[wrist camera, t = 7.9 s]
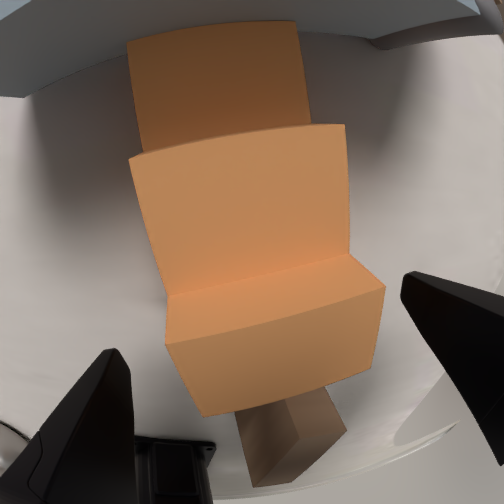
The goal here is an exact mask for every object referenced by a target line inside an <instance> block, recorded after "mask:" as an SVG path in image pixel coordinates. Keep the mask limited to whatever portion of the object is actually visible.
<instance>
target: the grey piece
mask: <svg viewBox="0 0 504 504" xmlns="http://www.w3.org/2000/svg"><path fill="white" fill-rule="evenodd" d="M247 21H295V22H296V27H297V31H301V32H320V33H332V34H341V35H350V36H357V37H364V38H368V39H369V41H370V42H371V43H372V44H373V45H375V46H376V47H378V48H380V49H383V50H389V49H393V48H398V47H402V46H407V45H412V44H417V43H422V42H428V41H434V40H440V39H447V38H455V37H464V36H476V35H496V34H502V33H503V21H502V17H501V15H500V12H499V10H498V8H497V6H496V4H495V2H494V0H0V96H3V97H17V98H25V97H26V96H28V95H30V94H32V93H34V92H35V91H37V90H39V89H41V88H43V87H45V86H47V85H49V84H51V83H53V82H55V81H57V80H59V79H62V78H64V77H66V76H68V75H71V74H73V73H75V72H78V71H80V70H83V69H85V68H88V67H90V66H93V65H95V64H98V63H101V62H104V61H106V60H109V59H112V58H115V57H118V56H122V55H125V54H127V44H126V42H129V41H132V40H136V39H140V38H143V37H147V36H151V35H155V34H160V33H164V32H169V31H174V30H179V29H185V28H191V27H197V26H204V25H212V24H221V23H232V22H247Z"/></svg>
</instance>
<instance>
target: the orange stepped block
mask: <svg viewBox="0 0 504 504" xmlns="http://www.w3.org/2000/svg"><path fill="white" fill-rule="evenodd" d="M126 44H127V54H128V63H129V71H130V78H131V85H132V92H133V99H134V105H135V111H136V117H137V122H138V128H139V133H140V138H141V144H142V149H143V152H142V153H140V154H138V155H136V156H134V157H132V158H130V159H129V164H130V168H131V173H132V177H133V181H134V185H135V189H136V193H137V197H138V201H139V205H140V209H141V212H142V216H143V220H144V223H145V227H146V230H147V234H148V237H149V240H150V244H151V247H152V250H153V254H154V257H155V260H156V263H157V266H158V269H159V272H160V275H161V278H162V281H163V284H164V287H165V290H166V293H167V295H168V301H167V315H166V334H165V346H166V348H167V350H168V352H169V354H170V356H171V358H172V360H173V362H174V364H175V366H176V368H177V370H178V372H179V374H180V376H181V378H182V380H183V382H184V384H185V386H186V388H187V390H188V392H189V393H190V395H191V397H192V399H193V401H194V403H195V404H196V406H197V408H198V410H199V412H200V413H201V415H202V417H209V416H214V415H220V414H225V413H230V412H234V411H239V410H243V409H248V408H252V407H256V406H260V405H264V404H268V403H272V402H275V401H279V400H282V399H286V398H289V397H293V396H296V395H299V394H302V393H305V392H309V391H312V390H315V389H318V388H320V387H323V386H326V385H329V384H332V383H335V382H337V381H340V380H343V379H345V378H348V377H350V376H353V375H355V374H358V373H360V372H363V371H365V370H367V369H370V368H371V363H372V359H373V355H374V350H375V346H376V341H377V336H378V331H379V326H380V320H381V314H382V308H383V302H384V295H385V288H386V286H385V285H384V284H383V283H382V282H381V281H380V280H379V279H377V278H376V277H375V276H374V275H373V274H372V273H371V272H370V271H369V270H367V269H366V268H365V267H364V266H363V265H362V264H361V263H360V262H358V261H357V260H356V259H355V258H354V257H353V256H352V255H350V254H349V239H350V218H349V180H348V161H347V146H346V134H345V124H311V116H310V108H309V100H308V93H307V86H306V79H305V73H304V66H303V60H302V54H301V49H300V43H299V38H298V32H297V27H296V22H295V21H247V22H232V23H221V24H212V25H204V26H197V27H191V28H185V29H179V30H174V31H169V32H164V33H160V34H155V35H151V36H147V37H143V38H140V39H136V40H132V41H129V42H126Z"/></svg>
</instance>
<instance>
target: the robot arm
mask: <svg viewBox="0 0 504 504" xmlns="http://www.w3.org/2000/svg"><path fill="white" fill-rule="evenodd" d="M400 298H401V301H402V303H403V305H404V307H405V308H406V310H407V311H408V313H409V315H410V317H411V318H412V320H413V322H414V323H415V325H416V327H417V329H418V330H419V332H420V334H421V335H422V337H423V338H424V340H425V341H426V343H427V344H428V345H429V347H430V348H431V350H432V351H433V353H434V354H435V356H436V357H437V359H438V360H439V361H440V363H441V364H442V366H443V367H444V369H445V370H446V372H447V374H448V375H449V377H450V378H451V380H452V381H453V383H454V384H455V386H456V388H457V389H458V391H459V392H460V394H461V396H462V397H463V399H464V401H465V402H466V404H467V406H468V407H469V409H470V411H471V412H472V414H473V416H474V418H475V419H476V421H477V423H478V424H479V427H480V429H481V430H482V432H483V434H484V436H485V438H486V440H487V442H488V444H489V446H490V448H491V449H492V452H493V454H494V456H495V458H496V460H497V462H498V464H499V465H500V466H502V465H503V464H504V297H503V296H501V295H497V294H494V293H491V292H487V291H484V290H481V289H477V288H474V287H470V286H467V285H463V284H460V283H456V282H453V281H449V280H446V279H442V278H439V277H435V276H432V275H428V274H424V273H421V272H417V271H412V272H409V273H407V274H405V275H404V277H403V281H402V287H401V293H400ZM215 451H216V444H215V443H213V442H190V441H174V440H163V439H153V438H145V437H137V436H134V409H133V399H132V387H131V373H130V369H129V367H128V365H127V363H126V362H125V360H124V359H123V357H122V355H121V354H120V352H119V351H118V350H117V349H116V348H112V349H106V350H103V351H102V352H101V354H100V355H99V356H98V357H97V358H96V360H95V361H94V362H93V363H92V364H91V365H90V367H89V368H88V369H87V370H86V371H85V373H84V374H83V375H82V376H81V377H80V379H79V380H78V381H77V382H76V383H75V385H74V386H73V387H72V388H71V390H70V391H69V392H68V393H67V394H66V396H65V397H64V398H63V399H62V401H61V402H60V403H59V404H58V406H57V407H56V408H55V409H54V411H53V412H52V413H51V415H50V416H49V417H48V418H47V420H46V421H45V422H44V424H43V425H42V426H41V427H40V429H39V431H37V433H36V434H35V435H34V437H33V438H32V439H31V441H30V442H29V443H28V444H27V446H26V447H25V448H24V450H23V451H22V452H21V453H20V454H19V456H18V457H17V458H16V459H15V460H14V462H13V463H12V464H11V465H10V466H9V467H8V468H7V470H6V471H5V472H4V473H3V474H2V475H1V476H0V504H213V500H212V495H211V489H210V484H209V478H208V472H207V467H208V465H209V463H210V461H211V459H212V457H213V455H214V453H215Z"/></svg>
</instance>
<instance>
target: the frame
mask: <svg viewBox="0 0 504 504" xmlns="http://www.w3.org/2000/svg"><path fill="white" fill-rule="evenodd" d="M494 2H495V4H496V5H497V4H502V0H494ZM234 412H235V417H236V421H237V426H238V430H239V434H240V438H241V442H242V447H243V451H244V455H245V459H246V463H247V466H248V470H249V474H250V478H251V482H252V485H253V488H255V487H263V486H271V485H278V484H284V483H290V482H292V481H293V480H295V479H296V478H297V477H298V476H300V475H301V474H302V473H303V472H304V471H305V470H306V469H308V468H309V467H310V466H311V465H312V464H313V463H314V462H315V461H317V460H318V459H319V458H320V457H321V456H322V455H323V454H324V453H325V452H326V451H327V450H328V449H329V448H330V447H331V446H332V445H333V444H334V443H335V442H336V441H337V440H338V439H339V438H340V437H341V436H342V435H343V434H344V433H345V432H346V431H347V429H346V427H345V425H344V423H343V421H342V419H341V418H340V416H339V414H338V412H337V410H336V408H335V406H334V404H333V402H332V400H331V398H330V396H329V395H328V393H327V391H326V389H325V387H324V386H323V387H320V388H318V389H315V390H312V391H309V392H305V393H302V394H299V395H296V396H293V397H289V398H286V399H282V400H279V401H275V402H272V403H268V404H264V405H260V406H256V407H252V408H248V409H243V410H239V411H234Z"/></svg>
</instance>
